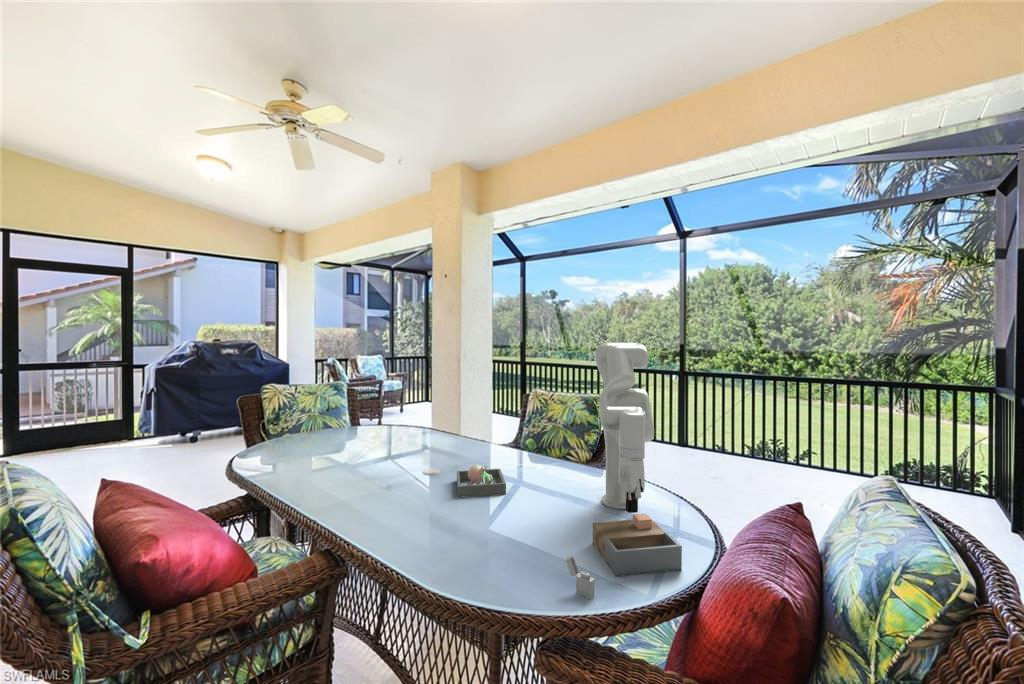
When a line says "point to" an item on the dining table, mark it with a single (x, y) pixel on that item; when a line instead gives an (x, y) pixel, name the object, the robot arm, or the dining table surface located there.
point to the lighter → (581, 579)
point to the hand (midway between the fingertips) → (631, 511)
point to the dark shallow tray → (481, 488)
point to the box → (644, 558)
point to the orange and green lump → (479, 475)
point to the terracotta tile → (642, 521)
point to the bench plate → (626, 535)
